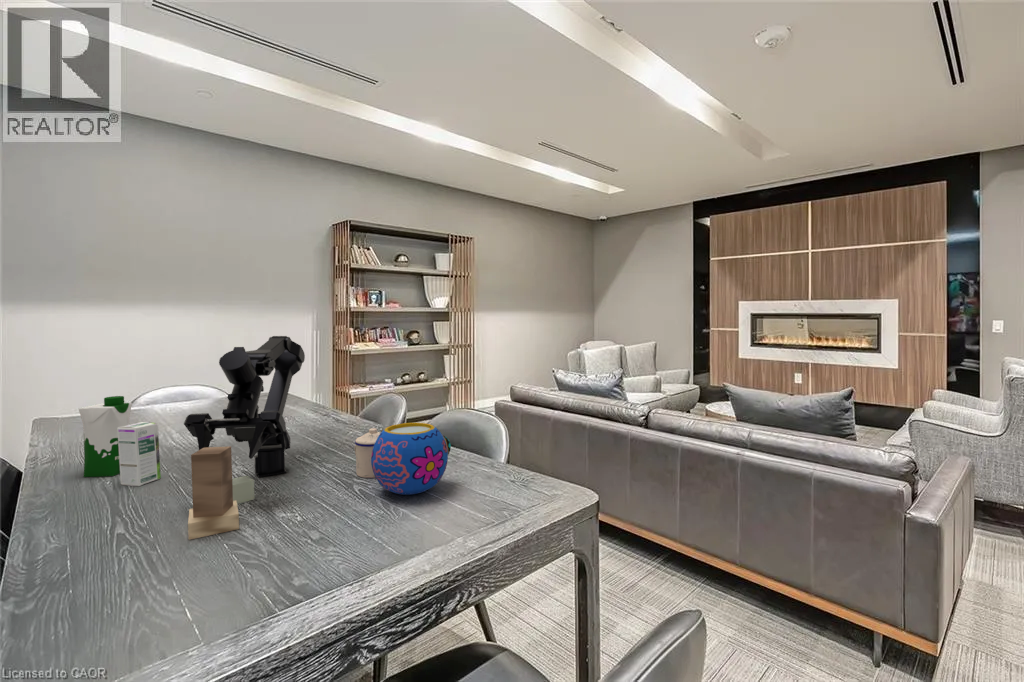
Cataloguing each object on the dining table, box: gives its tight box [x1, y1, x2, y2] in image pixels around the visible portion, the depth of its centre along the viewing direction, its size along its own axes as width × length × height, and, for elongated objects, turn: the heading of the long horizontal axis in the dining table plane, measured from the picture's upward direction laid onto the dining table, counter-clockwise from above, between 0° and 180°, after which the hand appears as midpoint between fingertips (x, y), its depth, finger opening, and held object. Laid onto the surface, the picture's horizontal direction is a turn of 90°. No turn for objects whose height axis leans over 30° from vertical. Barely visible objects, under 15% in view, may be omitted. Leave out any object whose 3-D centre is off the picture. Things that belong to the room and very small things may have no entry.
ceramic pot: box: [371, 422, 452, 496], centre depth 109 cm, size 18×18×15 cm
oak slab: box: [187, 500, 240, 541], centre depth 91 cm, size 8×8×3 cm
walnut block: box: [190, 445, 233, 518], centre depth 91 cm, size 5×5×12 cm
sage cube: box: [232, 475, 256, 505], centre depth 105 cm, size 4×4×4 cm
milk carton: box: [78, 395, 133, 478], centre depth 123 cm, size 9×9×20 cm
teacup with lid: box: [354, 427, 381, 479], centre depth 123 cm, size 12×9×12 cm
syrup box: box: [117, 421, 162, 487], centre depth 116 cm, size 6×6×14 cm
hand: (226, 459), depth 97 cm, fingers open, 9 cm apart
